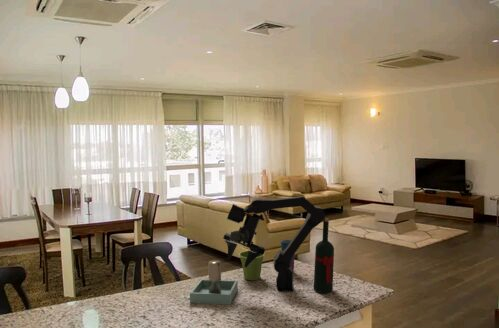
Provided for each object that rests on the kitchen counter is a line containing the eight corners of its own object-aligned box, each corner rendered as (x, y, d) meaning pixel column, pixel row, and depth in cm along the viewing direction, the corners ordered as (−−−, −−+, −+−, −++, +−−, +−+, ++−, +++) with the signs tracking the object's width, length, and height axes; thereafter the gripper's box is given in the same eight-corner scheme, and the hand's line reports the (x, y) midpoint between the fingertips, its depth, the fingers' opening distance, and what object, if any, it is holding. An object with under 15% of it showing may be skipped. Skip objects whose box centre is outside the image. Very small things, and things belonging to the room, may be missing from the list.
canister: (222, 291, 166) (221, 260, 166) (219, 296, 161) (219, 264, 161) (210, 291, 167) (210, 260, 166) (207, 295, 162) (206, 263, 161)
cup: (294, 274, 188) (294, 243, 188) (280, 274, 190) (280, 242, 189) (296, 270, 195) (295, 239, 194) (282, 269, 196) (281, 239, 196)
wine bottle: (319, 295, 161) (322, 221, 160) (310, 286, 171) (313, 216, 170) (338, 294, 163) (341, 221, 161) (328, 285, 173) (331, 216, 171)
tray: (237, 289, 171) (237, 280, 170) (230, 304, 155) (229, 294, 155) (201, 288, 173) (200, 279, 173) (189, 302, 157) (189, 293, 157)
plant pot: (233, 278, 185) (233, 254, 185) (252, 272, 193) (252, 249, 193) (251, 284, 177) (251, 259, 176) (270, 278, 185) (270, 253, 184)
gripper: (221, 217, 168) (208, 253, 167) (256, 230, 157) (242, 269, 155) (237, 222, 177) (224, 256, 175) (271, 235, 166) (258, 272, 164)
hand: (236, 263), depth 167 cm, fingers open, 9 cm apart
